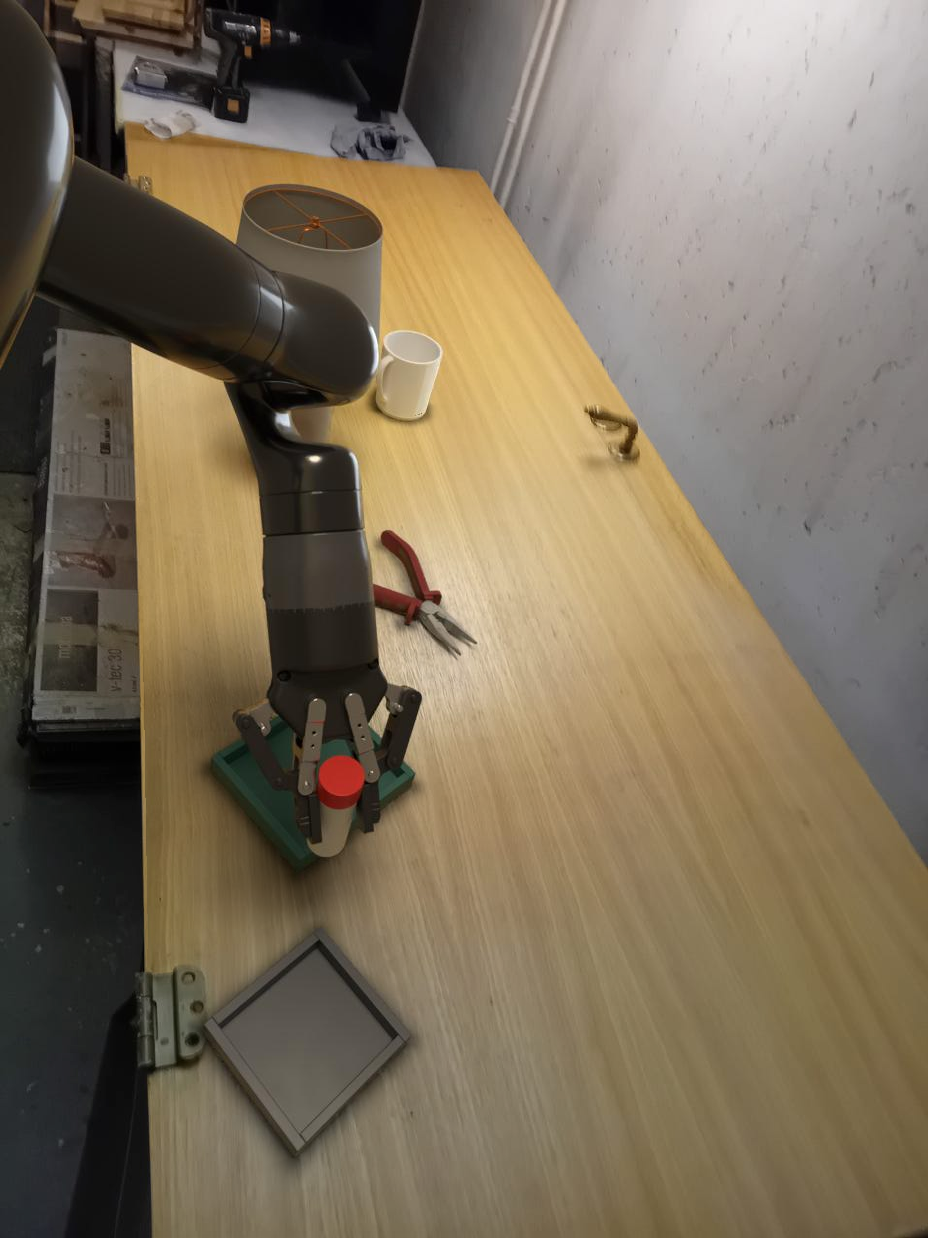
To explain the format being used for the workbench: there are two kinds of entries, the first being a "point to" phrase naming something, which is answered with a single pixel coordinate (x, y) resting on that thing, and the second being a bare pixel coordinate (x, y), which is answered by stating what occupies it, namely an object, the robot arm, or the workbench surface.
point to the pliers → (418, 596)
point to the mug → (407, 374)
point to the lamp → (316, 255)
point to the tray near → (306, 1038)
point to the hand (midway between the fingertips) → (340, 833)
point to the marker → (337, 802)
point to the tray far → (278, 806)
